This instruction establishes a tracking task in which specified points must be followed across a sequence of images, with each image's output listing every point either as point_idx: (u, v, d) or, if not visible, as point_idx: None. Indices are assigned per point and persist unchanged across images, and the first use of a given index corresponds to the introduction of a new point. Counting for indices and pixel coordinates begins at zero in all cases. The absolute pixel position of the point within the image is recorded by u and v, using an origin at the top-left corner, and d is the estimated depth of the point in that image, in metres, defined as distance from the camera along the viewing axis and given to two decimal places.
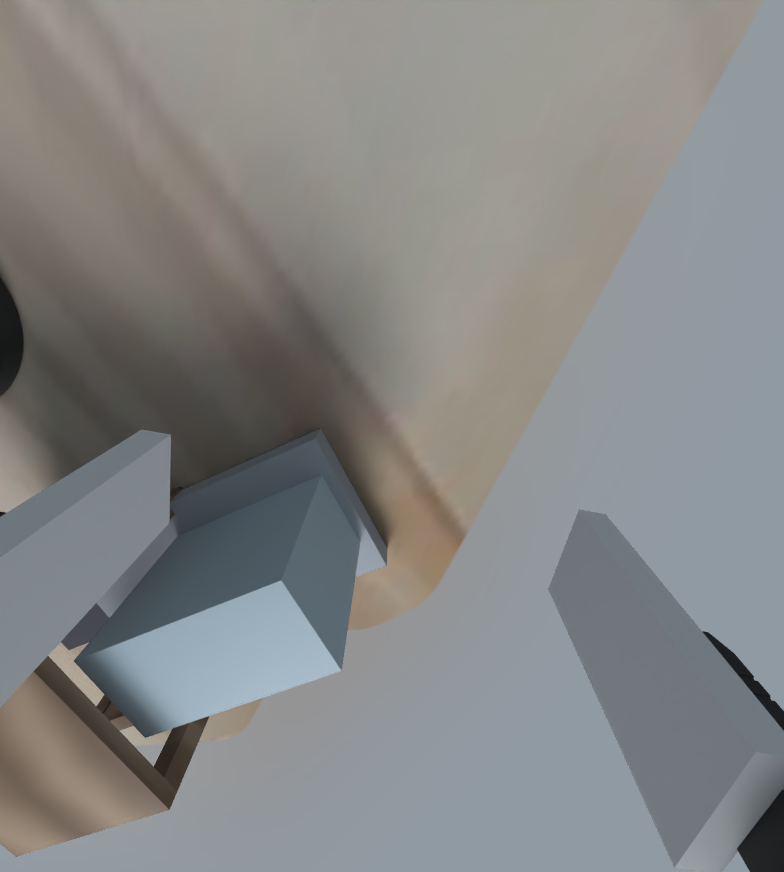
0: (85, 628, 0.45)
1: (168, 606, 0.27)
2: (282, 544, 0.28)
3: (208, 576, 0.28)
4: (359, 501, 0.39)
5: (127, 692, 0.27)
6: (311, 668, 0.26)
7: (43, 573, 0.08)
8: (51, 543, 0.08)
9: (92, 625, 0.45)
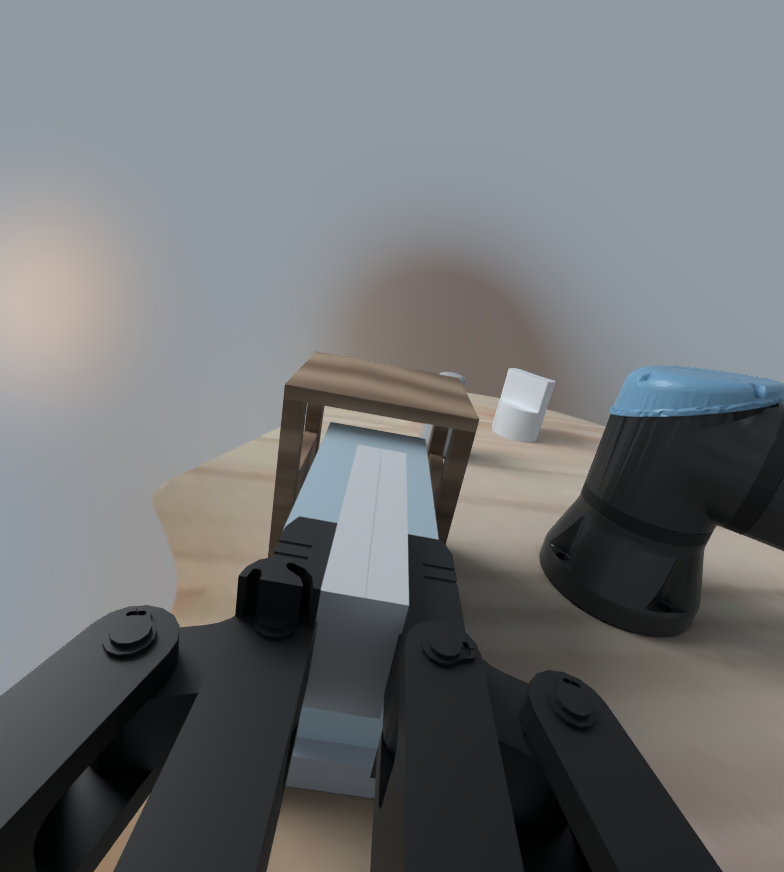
0: None
1: None
2: None
3: None
4: (300, 782, 0.24)
5: (379, 437, 0.31)
6: (309, 513, 0.21)
7: None
8: None
9: None
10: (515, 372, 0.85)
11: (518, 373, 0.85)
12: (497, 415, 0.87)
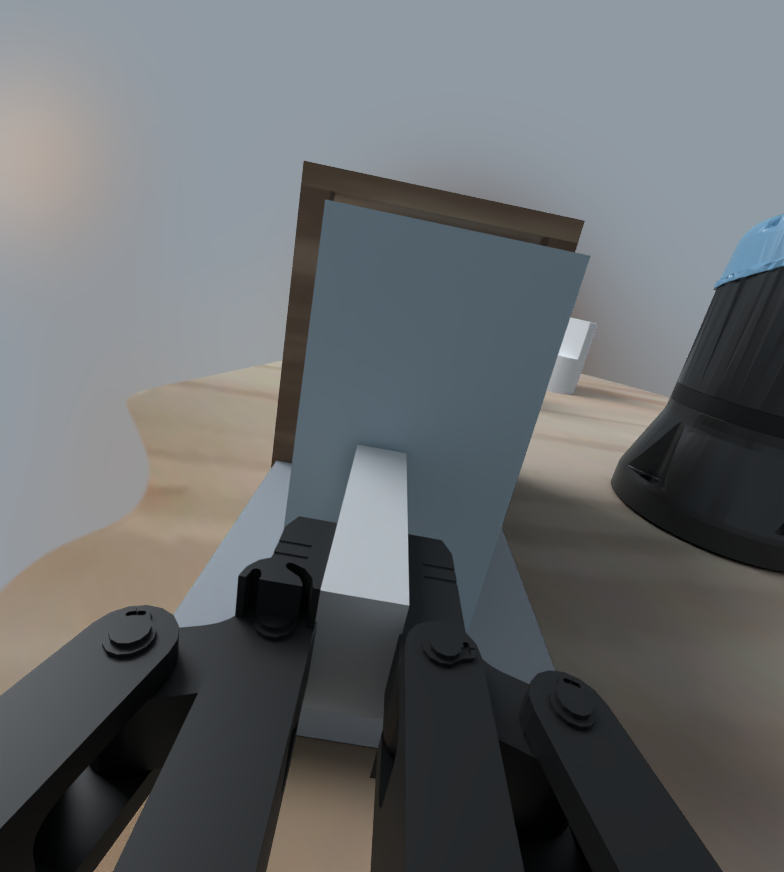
0: None
1: None
2: None
3: None
4: (329, 730, 0.14)
5: None
6: None
7: None
8: None
9: None
10: None
11: None
12: None
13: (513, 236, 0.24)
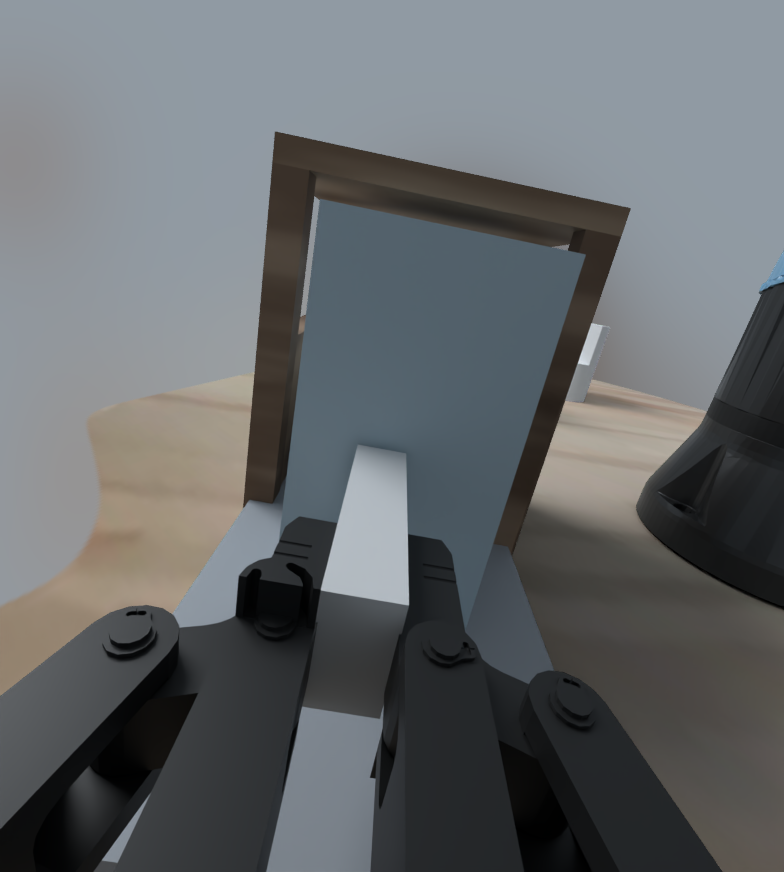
0: None
1: None
2: None
3: None
4: None
5: None
6: None
7: None
8: None
9: None
10: None
11: None
12: None
13: (536, 229, 0.20)
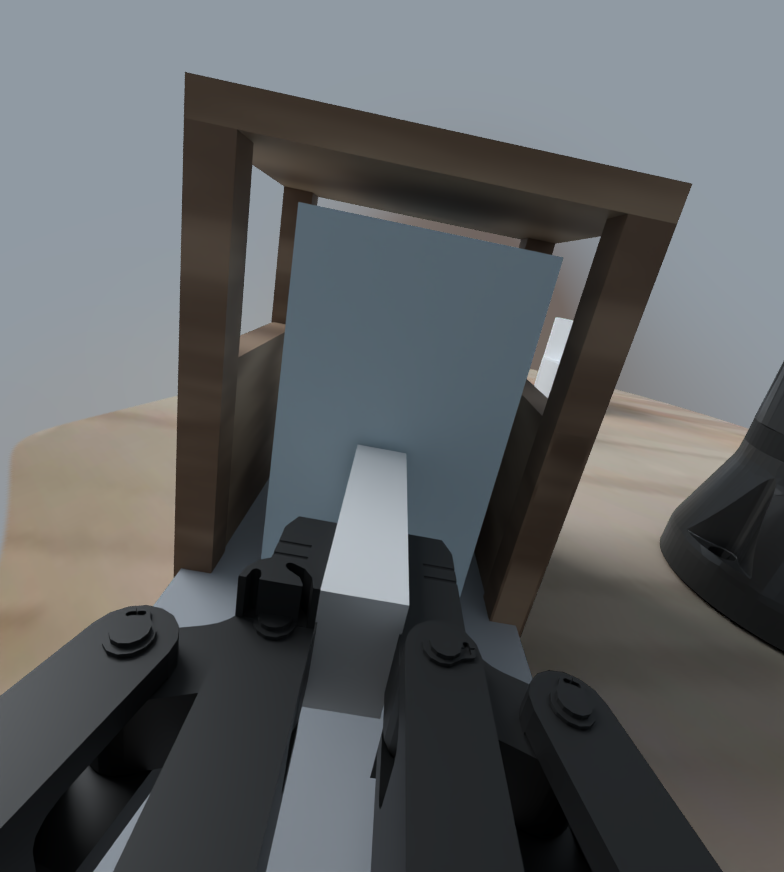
0: None
1: None
2: None
3: None
4: None
5: None
6: None
7: None
8: None
9: None
10: (564, 321, 0.66)
11: (569, 322, 0.66)
12: (540, 377, 0.68)
13: (554, 216, 0.15)
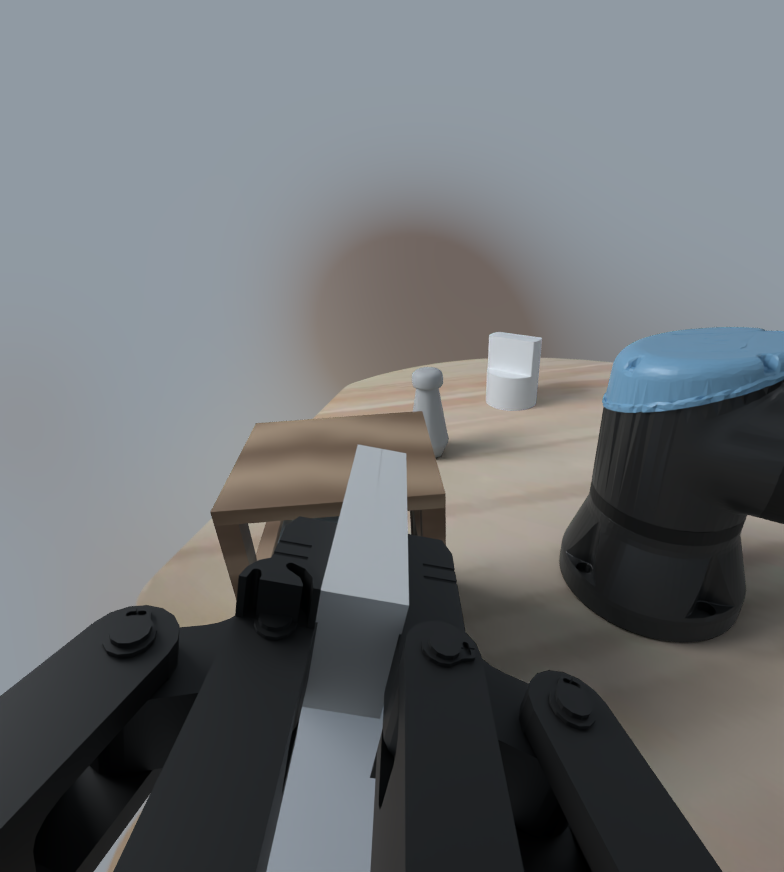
0: None
1: None
2: None
3: None
4: None
5: None
6: None
7: None
8: None
9: None
10: (497, 338, 0.78)
11: (500, 338, 0.78)
12: (488, 387, 0.81)
13: None
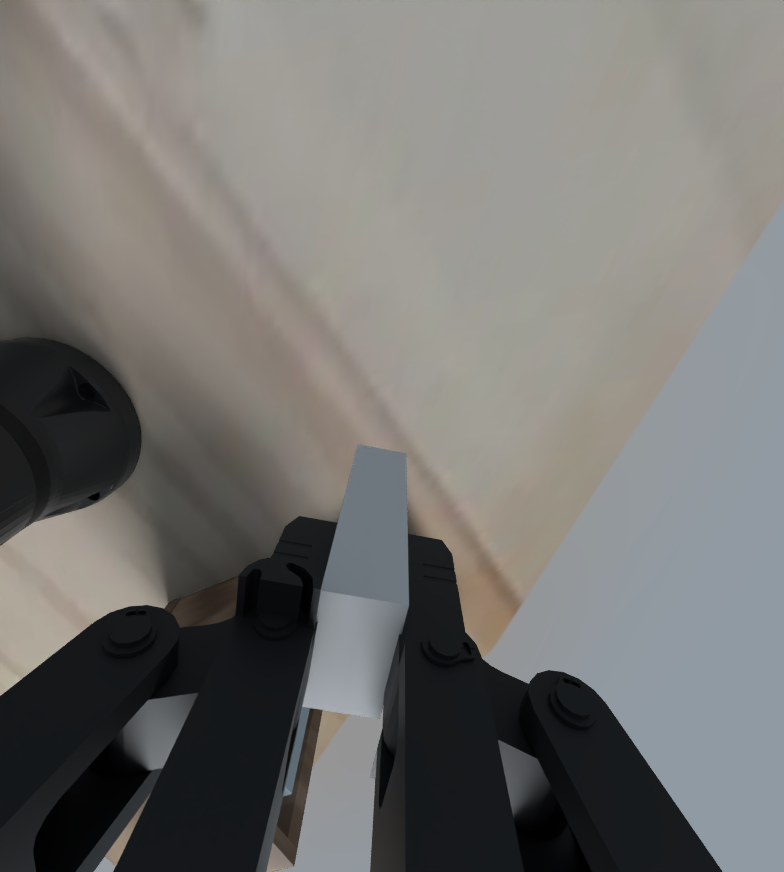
0: None
1: None
2: None
3: None
4: None
5: None
6: None
7: None
8: None
9: None
10: None
11: None
12: None
13: None
